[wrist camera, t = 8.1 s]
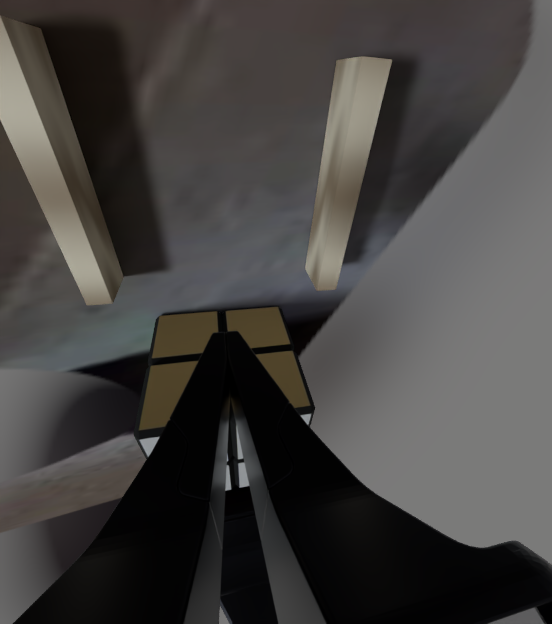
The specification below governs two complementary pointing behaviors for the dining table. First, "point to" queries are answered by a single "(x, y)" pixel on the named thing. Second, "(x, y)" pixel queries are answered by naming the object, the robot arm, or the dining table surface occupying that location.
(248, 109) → the dining table surface
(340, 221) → the lane rails
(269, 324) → the puzzle cube
